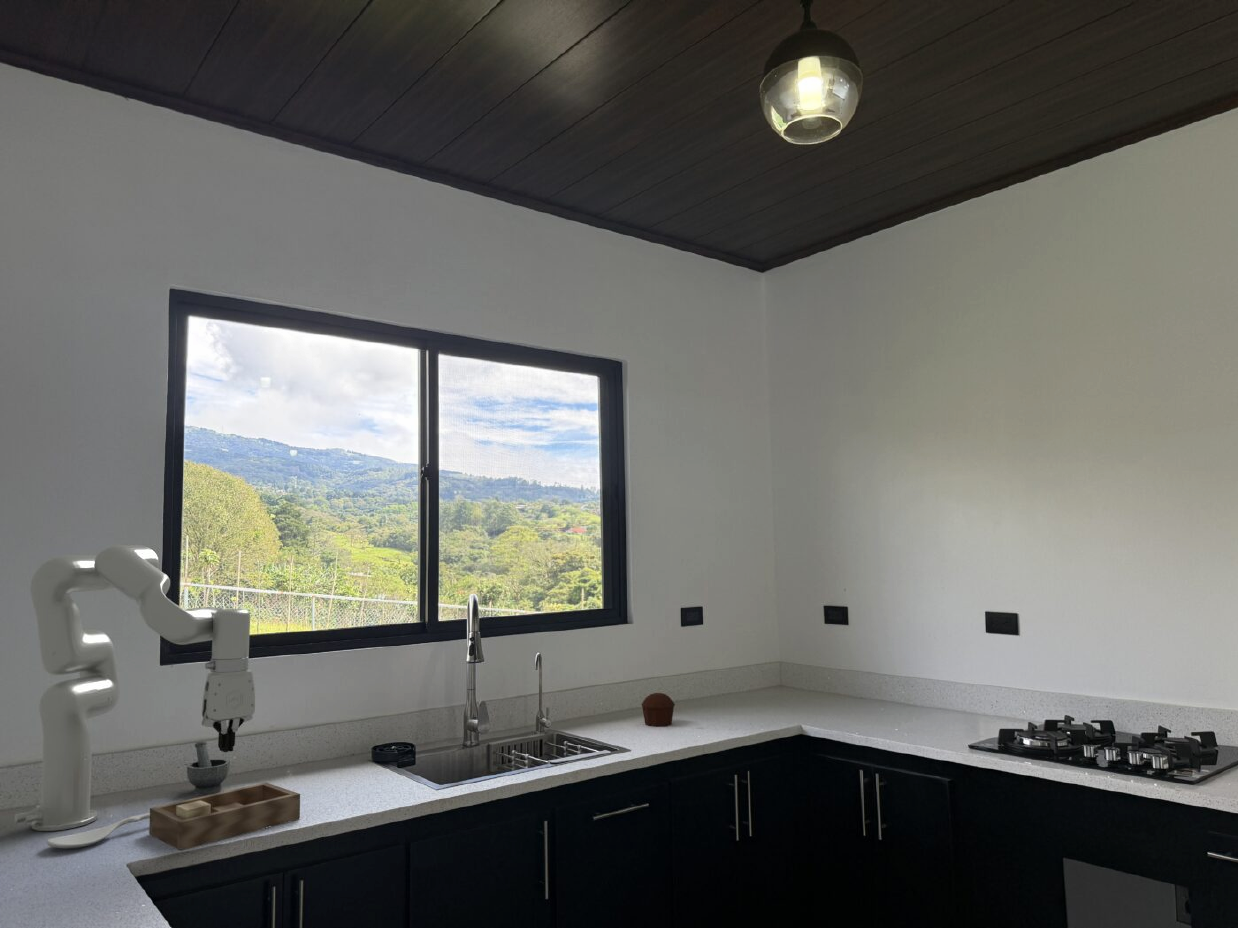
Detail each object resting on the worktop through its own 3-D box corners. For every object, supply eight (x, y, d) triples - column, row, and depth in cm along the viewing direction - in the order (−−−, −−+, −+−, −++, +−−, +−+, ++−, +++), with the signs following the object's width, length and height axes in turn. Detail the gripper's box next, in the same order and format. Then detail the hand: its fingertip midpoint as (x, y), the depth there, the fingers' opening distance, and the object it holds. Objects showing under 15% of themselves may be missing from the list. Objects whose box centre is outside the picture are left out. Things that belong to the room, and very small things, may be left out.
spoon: (213, 818, 201) (213, 802, 201) (56, 859, 176) (57, 841, 176) (194, 811, 207) (194, 796, 207) (39, 850, 182) (40, 832, 182)
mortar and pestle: (235, 790, 223) (236, 742, 224) (197, 799, 216) (198, 748, 217) (215, 783, 230) (216, 736, 231) (178, 791, 223) (179, 742, 224)
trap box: (180, 850, 179) (180, 822, 179) (149, 834, 189) (149, 807, 190) (299, 818, 198) (300, 793, 199) (265, 805, 209) (266, 782, 209)
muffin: (639, 721, 300) (639, 691, 301) (671, 720, 301) (671, 690, 302) (644, 728, 288) (644, 697, 289) (678, 727, 290) (677, 696, 291)
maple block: (186, 829, 182) (186, 809, 183) (175, 825, 186) (176, 805, 186) (210, 823, 186) (210, 804, 187) (200, 819, 189) (200, 800, 190)
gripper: (202, 671, 187) (198, 759, 185) (270, 663, 198) (267, 747, 196) (187, 667, 192) (183, 753, 190) (254, 660, 203) (251, 742, 201)
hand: (226, 750), depth 193 cm, fingers closed
